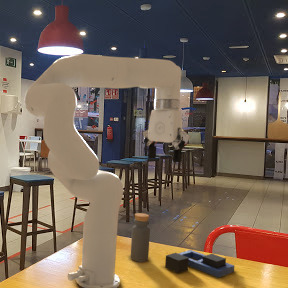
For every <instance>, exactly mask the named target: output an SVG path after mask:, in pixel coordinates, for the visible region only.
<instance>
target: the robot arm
mask: <svg viewBox="0 0 288 288" xmlns="http://www.w3.org/2000/svg"><path fill="white" fill-rule="evenodd" d="M181 84H182V68H181V67H180V66H179V65H176V63H175V62H173V61H172V60H170V59H160V58H141V57H125V56H124V57H123V56H122V57H121V56H110V55H108V56H107V55H97V54H88V53H79V54H73V55H67V56H66V55H65V56H62V57H61V58H58V59H56V60H55V61H54V62H53V63H52V64H51V65H50V66H48V68H47V69H46V70H45V71H44V72H43V73H42V74H41V75H40V76H39V77H38V78H37V79H36V80H35V81H34V82H33V83H32V84H31V85H30V86H29V87H28V88H27V90H26V91H25V94H24V100H23V101H24V107H25V109H26V110H27V112H28V113H29V114H31V115H32V116H35V117H40V118H43V125H42V126H43V127H42V136H43V140H44V143H45V146H46V147H47V148H48V150H49V151H48V155H47V164H48V169H49V170H50V172H51V173H52V174H53V175H54V177H56V179H57V180H58V181H59V182H60V183H61V185H63V187H65V189H66V190H67V191H68V192H69V193H70V194H71V195H73V197H75V198H77V199H80V200H83V201H85V202H87V203H89V205H88V208H87V209H86V212H85V214H84V217H83V226H82V227H83V228H82V248H81V249H82V250H81V265H79V266H78V269H77V270H76V271H75V272H74V271H73V272H70V273H67V279H68V281H70V282H71V281H74V280H75V282H76V284H77V285H79V286H80V287H81V288H119V286H120V284H121V279H120V277H119V275H118V274H116V261H117V260H116V259H117V258H116V255H117V241H118V224H119V212H120V207H121V203H122V199H123V195H124V186H123V182H122V181H121V178H119V176H117V175H116V174H114V173H112V172H109V171H106V170H102V169H101V170H100V162H99V158H98V156H97V155H96V154H95V152H94V151H93V149H92V148H91V147H90V145H88V143H87V142H86V141H85V140H84V138H83V137H82V136H81V134H80V133H79V132H78V130H77V128H76V126H75V113H76V109H77V102H78V101H77V95H76V92H75V90H74V89H73V88H94V89H95V88H97V89H98V88H99V89H100V88H101V89H131V88H140V89H155V90H154V91H155V92H154V101H153V102H152V106H153V109H152V110H151V113H150V116H149V121H148V129H146V130H144V131H143V132H142V136H143V138H144V142H145V143H146V146H147V149H148V150H147V159H149V160H153V159H156V158H157V146H156V145H157V143H171V144H172V145H173V147H174V148H173V151H172V162H173V163H181V162H182V158H183V157H182V155H183V150H184V148H185V147H186V146H188V142H189V140H190V139H191V135H190V134H188V133H187V132H185V131H184V130H183V119H182V110H180V103H181V102H180V101H181Z"/></svg>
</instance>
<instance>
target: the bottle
mask: <svg viewBox="0 0 288 288" xmlns="http://www.w3.org/2000/svg"><path fill="white" fill-rule="evenodd" d="M149 218H150V215H149V214H147V213H143V212H136V213H134V218H133V223H134V225H133V226H132V228H131V238H130V239H131V240H130V259H131V260H132V261H133V262H139V263H144V262H147V261H148V260H149V252H150V238H151V237H150V235H151V233H150V232H151V228H150V226H148V225H150V220H149Z"/></svg>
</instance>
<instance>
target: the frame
mask: <svg viewBox="0 0 288 288" xmlns="http://www.w3.org/2000/svg"><path fill="white" fill-rule="evenodd" d="M178 254H180V255H183V256H186V257H188V258H189V262H188V267H191V268H193V269H195V270H198V271H201V272H203V273H206V274H208V275H211V276H213V277H216V278H217V279H218V278H222V277H224V276H227V275H229V274H233V273H234V272H235V265H234V264H231V263H229V262H226V265H225V266H224V267H221V268H218V269H216V268H214V267H211V266H209V265H206V264H203V256H206V255H207V254H203V253H201V252H198V251H194V250H193V249H188V250H185V251H182V252H178Z"/></svg>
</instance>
